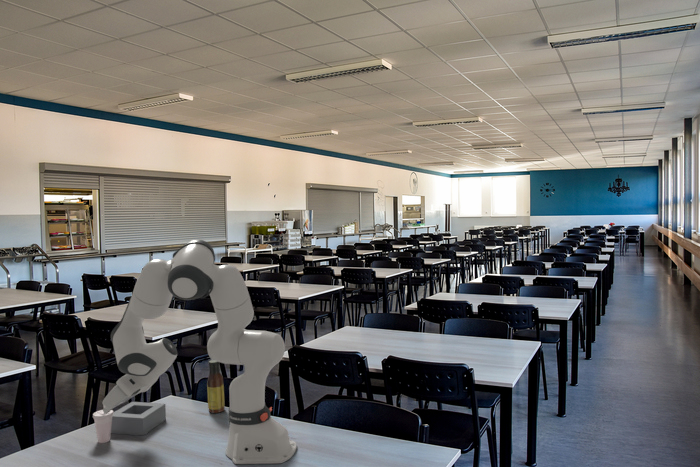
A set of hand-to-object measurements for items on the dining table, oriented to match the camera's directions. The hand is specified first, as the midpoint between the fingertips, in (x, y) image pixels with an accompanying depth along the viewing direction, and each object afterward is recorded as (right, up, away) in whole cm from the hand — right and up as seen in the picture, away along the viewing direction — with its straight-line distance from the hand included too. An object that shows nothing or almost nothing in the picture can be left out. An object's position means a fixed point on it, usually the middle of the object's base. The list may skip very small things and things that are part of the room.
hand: (114, 406), depth 170 cm
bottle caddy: (+2, -12, +14) cm, 19 cm away
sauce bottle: (+27, -11, +28) cm, 40 cm away
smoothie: (-5, -13, +2) cm, 14 cm away
